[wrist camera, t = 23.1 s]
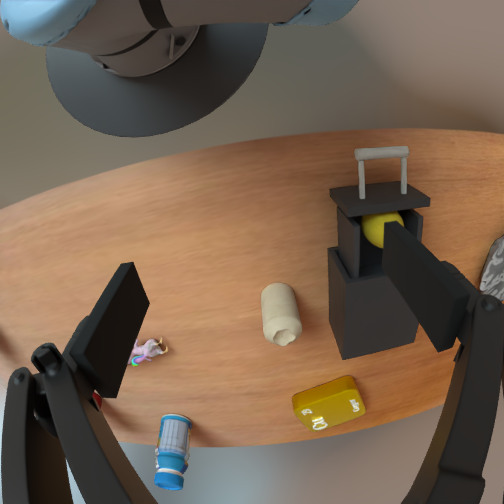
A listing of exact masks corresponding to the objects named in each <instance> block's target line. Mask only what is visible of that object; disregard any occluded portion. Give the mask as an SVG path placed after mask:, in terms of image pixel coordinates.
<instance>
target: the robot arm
mask: <svg viewBox="0 0 504 504" xmlns="http://www.w3.org/2000/svg"><path fill="white" fill-rule="evenodd" d="M358 1H359V0H1V5H0V11H1V20H2V23H3V26H4V28H5V29H6V30H7V31H8V33H10V34H11V35H12V36H13V37H14V38H16V39H19V40H22V41H25V42H28V43H31V44H32V45H36V46H42V47H43V46H51V47H57V48H63V49H68V50H74V51H79V52H83V53H88V54H89V55H90V57H91V58H92V60H93V61H94V62H95V63H96V64H97V65H98V66H99V67H101V68H102V69H104V70H105V71H107V72H109V73H111V74H114V75H118V76H123V77H134V78H136V77H144V76H149V75H153V74H156V73H158V72H161V71H163V70H165V69H167V68H169V67H170V66H172V65H173V64H175V63H176V62H177V61H179V60H180V59H181V58H182V57H183V56H184V55H185V54H186V53H187V52H188V51H189V49H190V48H191V47H192V45H193V44H194V42H195V41H196V39H197V37H198V35H199V32H200V29H201V25H205V24H221V23H272V24H273V25H275V26H286V25H290V24H301V25H318V26H320V25H327V24H330V23H332V22H334V21H338V20H339V19H341V18H343V17H344V16H345V15H346V14H348V12H350V11H351V10H352V8H353V7H354V6H355V5H356V4H357V2H358ZM382 269H383V270H384V272H385V273H386V275H387V276H388V277H389V279H390V280H391V282H392V283H393V284H394V286H395V287H396V289H397V290H398V292H399V293H400V294H401V296H402V297H403V299H404V300H405V302H406V303H407V305H408V306H409V308H410V309H411V311H412V312H413V314H414V315H415V317H416V318H417V320H418V321H419V323H420V324H421V326H422V328H423V329H424V331H425V332H426V334H427V335H428V337H429V339H430V340H431V342H432V343H433V345H434V347H435V348H436V350H437V352H441V351H444V350H447V349H450V348H452V347H453V345H454V342H455V340H456V337H457V338H458V339H459V341H460V342H461V344H460V346H459V349H458V351H457V354H456V356H455V358H454V361H455V362H456V363H455V367H454V371H453V375H452V379H451V383H450V387H449V390H448V394H447V397H446V401H445V404H444V407H443V410H442V413H441V416H440V419H439V422H438V425H437V428H436V431H435V434H434V436H433V439H432V441H431V444H430V447H429V449H428V452H427V454H426V456H425V459H424V461H423V463H422V466H421V468H420V470H419V473H418V475H417V477H416V479H415V481H414V483H413V485H412V487H411V489H410V491H409V492H408V494H407V496H406V497H405V498H404V500H403V501H402V503H401V504H479V503H480V500H481V497H482V495H483V492H484V488H485V479H484V478H483V477H482V471H483V467H484V464H485V460H486V457H487V453H488V449H489V445H490V441H491V436H492V432H493V428H494V423H495V418H496V412H497V406H498V400H499V393H500V385H501V379H502V387H503V396H504V304H503V303H502V302H501V301H500V300H499V299H498V298H497V297H495V296H492V295H489V294H483V295H482V294H481V293H480V292H479V291H478V290H477V289H476V288H475V287H474V286H473V285H472V283H471V282H470V281H469V280H468V279H467V278H465V276H464V275H463V274H462V273H460V271H459V270H458V269H457V268H456V267H455V266H454V265H452V264H450V263H448V262H446V261H441V262H440V261H439V260H438V259H437V258H436V257H435V256H434V255H433V254H432V253H431V252H430V251H429V250H428V249H427V248H426V247H425V246H424V245H423V244H422V243H421V242H420V241H419V240H418V239H416V238H415V237H414V236H413V235H412V234H411V233H410V232H409V231H408V230H407V229H406V228H405V227H403V226H402V225H401V224H400V223H399V222H398V221H390V222H384V238H383V257H382ZM149 304H150V303H149V300H148V298H147V295H146V293H145V291H144V288H143V286H142V283H141V281H140V278H139V276H138V273H137V270H136V268H135V265H134V263H133V262H129V263H123V264H120V266H119V268H118V269H117V271H116V272H115V274H114V275H113V277H112V279H111V280H110V282H109V283H108V285H107V287H106V288H105V290H104V292H103V293H102V295H101V296H100V298H99V300H98V301H97V303H96V305H95V307H94V308H93V310H92V312H91V313H90V315H89V316H86V317H85V318H84V319H83V320H82V321H81V322H80V323H79V325H78V326H77V328H76V330H75V332H74V333H73V335H72V338H71V339H70V341H69V342H68V344H67V346H66V348H65V350H64V352H63V353H62V355H61V353H60V352H59V351H58V349H57V348H56V346H55V345H54V344H53V343H45V344H43V345H41V346H40V347H38V348H37V349H36V350H35V351H34V352H33V354H32V356H31V362H32V363H33V364H34V366H35V367H36V368H37V370H38V371H39V372H40V373H37V374H33V375H32V374H31V372H30V371H29V370H28V368H26V367H21V368H19V369H17V370H15V371H14V372H13V373H12V375H11V376H10V379H9V382H8V388H7V395H6V402H5V410H4V420H3V432H2V452H1V474H2V475H1V476H2V477H1V478H2V498H3V504H73V499H72V494H71V489H70V483H69V478H68V471H67V465H66V459H67V462H68V464H69V467H70V469H71V472H72V474H73V476H74V479H75V481H76V483H77V486H78V488H79V490H80V492H81V494H82V497H83V498H84V501H85V503H86V504H158V503H157V502H156V500H155V499H154V497H153V496H152V495H151V493H150V492H149V490H148V489H147V488H146V486H145V485H144V483H143V482H142V480H141V479H140V477H139V476H138V474H137V473H136V471H135V470H134V468H133V467H132V465H131V463H130V462H129V460H128V458H127V457H126V455H125V453H124V452H123V450H122V448H121V447H120V445H119V443H118V441H117V440H116V438H115V436H114V434H113V432H112V430H111V429H110V427H109V425H108V423H107V421H106V419H105V417H104V415H103V413H102V411H101V409H100V407H99V405H98V403H97V401H96V399H95V398H94V397H93V393H94V391H95V390H96V391H97V392H98V393H99V395H100V396H101V397H102V398H117V395H118V391H119V388H120V385H121V382H122V379H123V376H124V373H125V370H126V367H127V364H128V361H129V358H130V356H131V353H132V350H133V347H134V344H135V342H136V339H137V336H138V333H139V331H140V328H141V325H142V323H143V320H144V317H145V315H146V312H147V309H148V307H149ZM34 414H35V416H34ZM503 504H504V494H503Z"/></svg>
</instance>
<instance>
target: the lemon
mask: <svg viewBox="0 0 504 504" xmlns="http://www.w3.org/2000/svg"><path fill="white" fill-rule="evenodd" d="M390 221H398V222H399V223H400V224H401V225H402V226H403V227H404V223H403V220H402V218H401V216H400V215H399V213H398V212H397V211H391V212H383V213H376V214H369V215H362V218H361V227H362V231H363V233H364V235H365V237H366V238H367V239H368V240H369V241H370V242H371V243H372V244H373V245H375V246H377V247H379V248H383V238H384V222H390Z"/></svg>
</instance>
